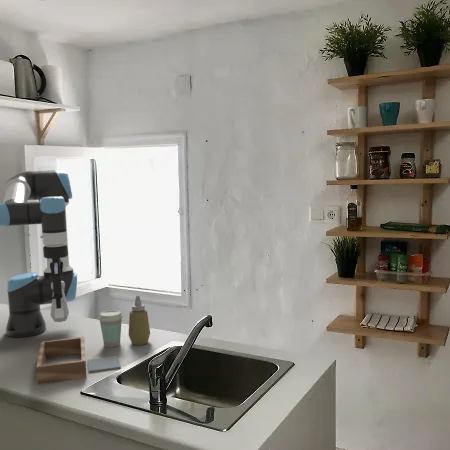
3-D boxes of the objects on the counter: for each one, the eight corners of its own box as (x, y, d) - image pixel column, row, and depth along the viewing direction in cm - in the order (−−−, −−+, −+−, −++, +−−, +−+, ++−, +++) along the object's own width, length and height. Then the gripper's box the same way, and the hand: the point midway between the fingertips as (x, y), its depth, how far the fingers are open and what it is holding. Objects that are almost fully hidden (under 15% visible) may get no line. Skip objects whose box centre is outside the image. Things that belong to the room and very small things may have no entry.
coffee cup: (128, 342, 188) (126, 311, 186) (114, 349, 180) (112, 317, 179) (109, 339, 191) (108, 308, 190) (95, 346, 184) (93, 315, 182)
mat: (88, 361, 170) (87, 359, 170) (118, 357, 173) (117, 355, 172) (88, 372, 160) (88, 370, 160) (120, 368, 163) (120, 366, 163)
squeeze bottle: (124, 345, 184) (122, 297, 182) (136, 338, 192) (134, 292, 190) (143, 347, 181) (141, 299, 179) (154, 340, 189) (152, 293, 187)
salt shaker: (63, 323, 161) (61, 283, 159) (47, 322, 162) (44, 283, 160) (72, 317, 166) (70, 279, 165) (56, 317, 167) (54, 279, 166)
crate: (42, 356, 175) (41, 341, 174) (84, 351, 179) (84, 336, 178) (37, 384, 152) (36, 367, 151) (86, 378, 156) (85, 361, 156)
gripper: (44, 241, 169) (48, 308, 172) (41, 250, 151) (46, 324, 154) (67, 239, 171) (71, 305, 174) (67, 248, 153) (71, 322, 156)
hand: (59, 314), depth 164 cm, fingers closed on salt shaker, 6 cm apart
